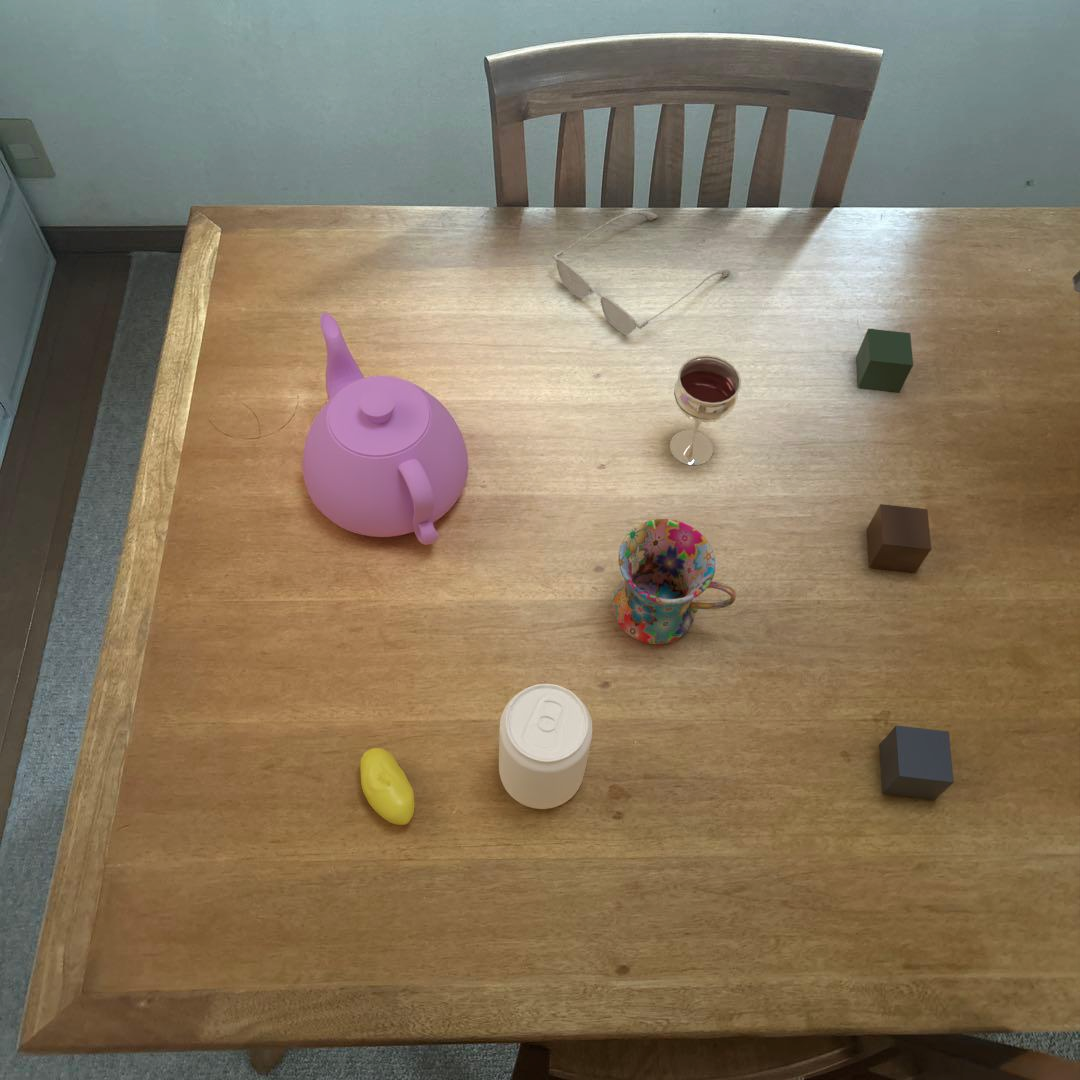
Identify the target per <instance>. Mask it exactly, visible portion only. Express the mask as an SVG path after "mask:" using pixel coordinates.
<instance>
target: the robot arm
mask: <svg viewBox="0 0 1080 1080" xmlns="http://www.w3.org/2000/svg"><path fill="white" fill-rule="evenodd" d="M1071 281H1072V286H1073V290H1074V291H1075V292H1077V293H1080V270H1078V272H1076V273H1075V275H1073V277H1072V278H1071Z"/></svg>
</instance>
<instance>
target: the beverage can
mask: <svg viewBox="0 0 1080 1080" xmlns="http://www.w3.org/2000/svg"><path fill="white" fill-rule="evenodd" d="M498 728H499V732H498V733H499V734H498V774H499V777H500V781H501V783H502V786H503V788H504V789H505V791H506V793H508V795H509V796H510V797H511V798H512V799H513V800H514V801H516V802H518V803H519V804H521V805H523V806H525V807H528V808H532V809H537V810H549V809H553V808H557V807H559V806H561V805H563V804H565V803H566V802H569V800H570V799H572V798H573V797H574V795H576V793H577V792H578V790H579V789H580V787H581V786H582V783H583V779H584V777H585V772H586V767H587V764H588V759H589V758H588V757H589V752H590V749H591V743H592V741H593V740H592V739H593V733H594V732H593V731H594V729H593V721H592V716H591V713H590V712H589V710H588V708H587V706H586V704H585V703H584V702H583V701H582V699H581V698H579V696H578V695H576V694H575V693H574V692H572V691H571V690H569V689H568V688H567V687H566V688H565V686H561V685H558V684H553V683H537V684H534V685H531V686H529V687H526V688H524V689H523V690H521V691H519V692H517V693H516V694H515V695H514V696H513V697H512V698H511V699H510V700H509V701H508V702H507V703H506V705H505V707H504V708H503V711H502V712H501V716H500V721H499V727H498Z"/></svg>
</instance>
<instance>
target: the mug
mask: <svg viewBox="0 0 1080 1080" xmlns="http://www.w3.org/2000/svg"><path fill="white" fill-rule="evenodd" d="M710 544H711V543H710V542H709V541H708V539H707V538H706V537H705V536H704V535H703V534H702V533H701V532H700V531H699V530H697V529H696V528H695V527H693V526H692V525H689V524H687V523H685V522H682V521H679V520H675V519H669V518H658V519H651V520H647V521H645V522H642V523H640V524H638V525H637V526H635V527H633V528H632V529H631V530H630V531H629V532H628V533H627V534H625V536H624V537H623V539H622V541H621V544H620V546H619V551H618V567H619V571H620V573H621V575H622V578H623V579H624V580H622V582H620V584H619V585H618V586H617V589H616V590H615V592H614V595H613V600H612V611H613V614H614V617H615V619H616V621H617V624H618V625H619V627H620V628H621V630H623V631H624V632H625V634H627V635H628V636H630V637H631V638H633V639H635V640H637V641H639V642H642V643H644V644H648V645H649V644H650V645H664V644H668V643H671V642H675V641H677V640H678V639H681V637H683V636H684V635H685V634H686V633H687V632H688V631H689V629H691V627H692V625H693V623H694V620H695V617H696V614H697V613H698V610H719V609H724V608H727V607H729V606H731V605H733V604H734V602H735V601H736V599H737V593H736V591H735V590H734V588H732V587H731V586H730V585H728V584H726V583H724V582H720V581H713V579H714V576H715V572H716V558H715V553H714V550H713V547H712V546H711V545H710ZM707 589H713V590H714V589H715V590H719V591H722V592H724V593H726V594H728V595H729V596H730V598H728V599H725V600H723V601H717V602H716V601H715V602H702V601H701V602H699V601H695V600H694V599H696V598H697V597H699V596H701V595H702V594H703V593H704V592H705V591H706V590H707Z"/></svg>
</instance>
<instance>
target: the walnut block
mask: <svg viewBox="0 0 1080 1080" xmlns="http://www.w3.org/2000/svg"><path fill="white" fill-rule="evenodd" d="M928 511H929V510H928V508H919V507H912V506H904V505H903V506H901V505H893V504H882V503H880V504H879V506H878V507H877V509H876V511H875V513H874V515H873V517H872V518H871V520H870V521H869V524H868V525H867V528H866V542H867V543H866V545H867V557H868V558H867V559H868V568H869V569H875V570H884V571H896V572H903V573H912V574H915V573H917V571H918V570H919V568H920V567H921V566H922V564H923V562H924V561H925V559H926V558H927V557H928V555H929V553H930V552H931V551H932V542H931V541H932V540H931V532H930V522H929V512H928Z"/></svg>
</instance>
